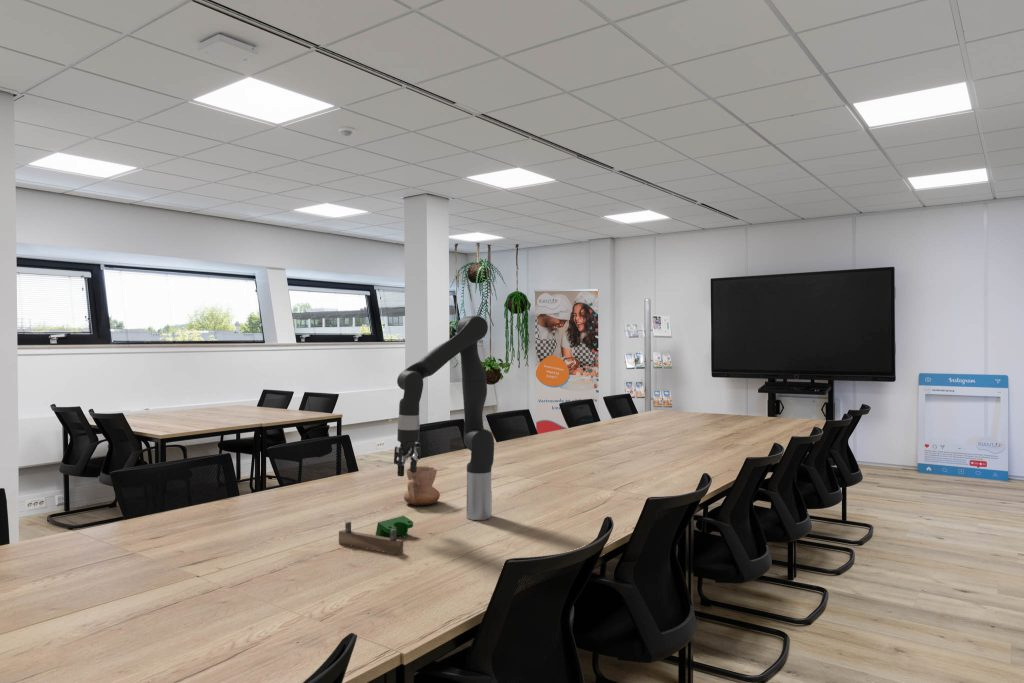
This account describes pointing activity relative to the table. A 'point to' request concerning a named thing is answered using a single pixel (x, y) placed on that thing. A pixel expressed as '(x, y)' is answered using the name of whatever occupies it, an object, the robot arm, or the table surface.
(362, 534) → the bar
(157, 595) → the table surface
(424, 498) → the ceramic jug
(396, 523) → the clamp
